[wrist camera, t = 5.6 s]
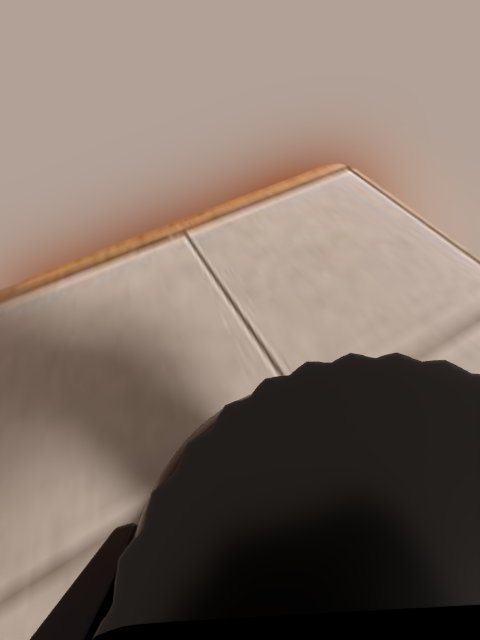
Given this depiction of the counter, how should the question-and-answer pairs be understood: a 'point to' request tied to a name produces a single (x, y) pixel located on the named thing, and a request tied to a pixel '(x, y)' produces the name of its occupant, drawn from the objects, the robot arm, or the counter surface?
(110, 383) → the counter surface
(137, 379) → the counter surface
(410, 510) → the supplement bottle
